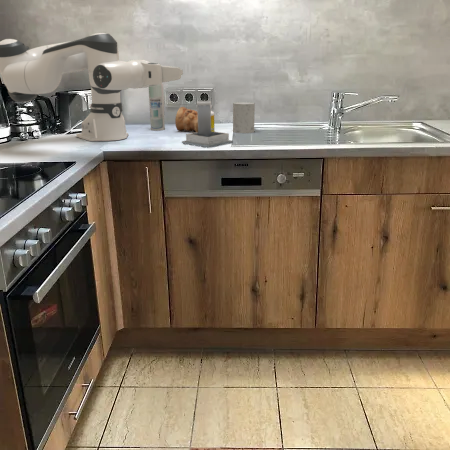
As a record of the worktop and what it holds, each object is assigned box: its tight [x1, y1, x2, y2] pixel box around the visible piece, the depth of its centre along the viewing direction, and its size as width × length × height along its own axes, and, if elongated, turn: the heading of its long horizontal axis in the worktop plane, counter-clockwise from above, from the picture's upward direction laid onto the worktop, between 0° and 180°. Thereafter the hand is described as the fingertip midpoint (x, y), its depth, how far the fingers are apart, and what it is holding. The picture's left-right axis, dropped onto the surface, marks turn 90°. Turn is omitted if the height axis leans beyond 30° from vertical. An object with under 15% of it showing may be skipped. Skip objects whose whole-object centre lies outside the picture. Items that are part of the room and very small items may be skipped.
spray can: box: [148, 83, 166, 132], centre depth 223 cm, size 6×6×20 cm
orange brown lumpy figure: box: [174, 106, 198, 132], centre depth 218 cm, size 19×11×15 cm
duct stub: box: [196, 100, 212, 137], centre depth 189 cm, size 5×5×15 cm
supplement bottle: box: [211, 104, 216, 132], centre depth 206 cm, size 7×7×13 cm
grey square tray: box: [181, 131, 234, 149], centre depth 192 cm, size 14×14×4 cm
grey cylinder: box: [232, 101, 256, 134], centre depth 219 cm, size 10×10×12 cm
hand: (171, 71), depth 173 cm, fingers open, 8 cm apart
